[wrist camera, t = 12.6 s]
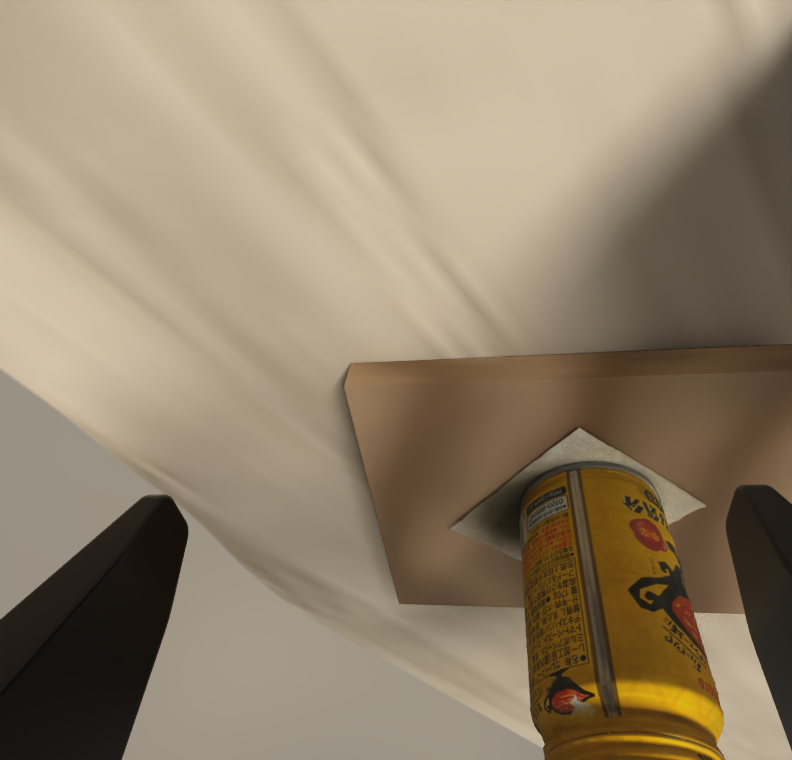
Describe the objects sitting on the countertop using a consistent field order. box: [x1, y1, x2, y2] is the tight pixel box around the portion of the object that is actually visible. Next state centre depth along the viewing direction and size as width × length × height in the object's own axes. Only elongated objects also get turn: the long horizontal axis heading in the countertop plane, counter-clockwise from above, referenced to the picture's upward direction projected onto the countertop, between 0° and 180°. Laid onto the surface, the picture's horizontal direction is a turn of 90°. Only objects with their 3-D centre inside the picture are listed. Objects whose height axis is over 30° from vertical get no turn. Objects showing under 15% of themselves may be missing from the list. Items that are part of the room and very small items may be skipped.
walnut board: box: [344, 344, 792, 614], centre depth 28 cm, size 18×16×2 cm
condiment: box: [451, 428, 725, 760], centre depth 22 cm, size 7×8×12 cm
